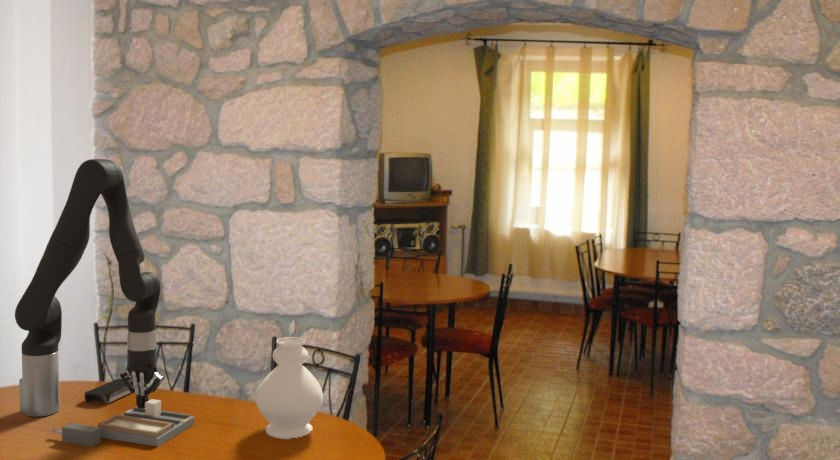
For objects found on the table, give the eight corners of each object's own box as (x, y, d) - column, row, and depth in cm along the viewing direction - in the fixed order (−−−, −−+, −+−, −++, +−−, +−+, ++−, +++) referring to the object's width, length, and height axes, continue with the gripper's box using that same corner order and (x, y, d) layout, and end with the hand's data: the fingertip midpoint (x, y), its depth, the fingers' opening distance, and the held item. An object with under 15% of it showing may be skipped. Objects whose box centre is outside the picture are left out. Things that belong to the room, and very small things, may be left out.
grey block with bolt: (49, 440, 204) (48, 425, 203) (57, 435, 207) (57, 420, 206) (92, 447, 200) (92, 432, 200) (100, 442, 203) (100, 427, 203)
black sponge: (105, 407, 228) (105, 395, 228) (81, 403, 231) (81, 391, 231) (141, 390, 244) (141, 379, 243) (118, 387, 246) (118, 375, 246)
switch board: (93, 436, 207) (93, 424, 206) (134, 414, 223) (134, 403, 222) (157, 446, 202) (157, 434, 201) (194, 423, 218) (194, 412, 217)
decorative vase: (288, 413, 228) (290, 328, 225) (335, 429, 218) (337, 340, 215) (241, 431, 214) (242, 340, 210) (289, 448, 203) (291, 353, 200)
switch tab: (145, 416, 216) (144, 402, 215) (151, 413, 219) (151, 399, 218) (154, 418, 215) (154, 403, 215) (161, 414, 218) (161, 400, 217)
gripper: (112, 346, 214) (112, 409, 216) (155, 352, 210) (155, 415, 212) (129, 340, 221) (129, 400, 223) (171, 345, 217) (171, 406, 220)
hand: (142, 407), depth 218 cm, fingers closed
